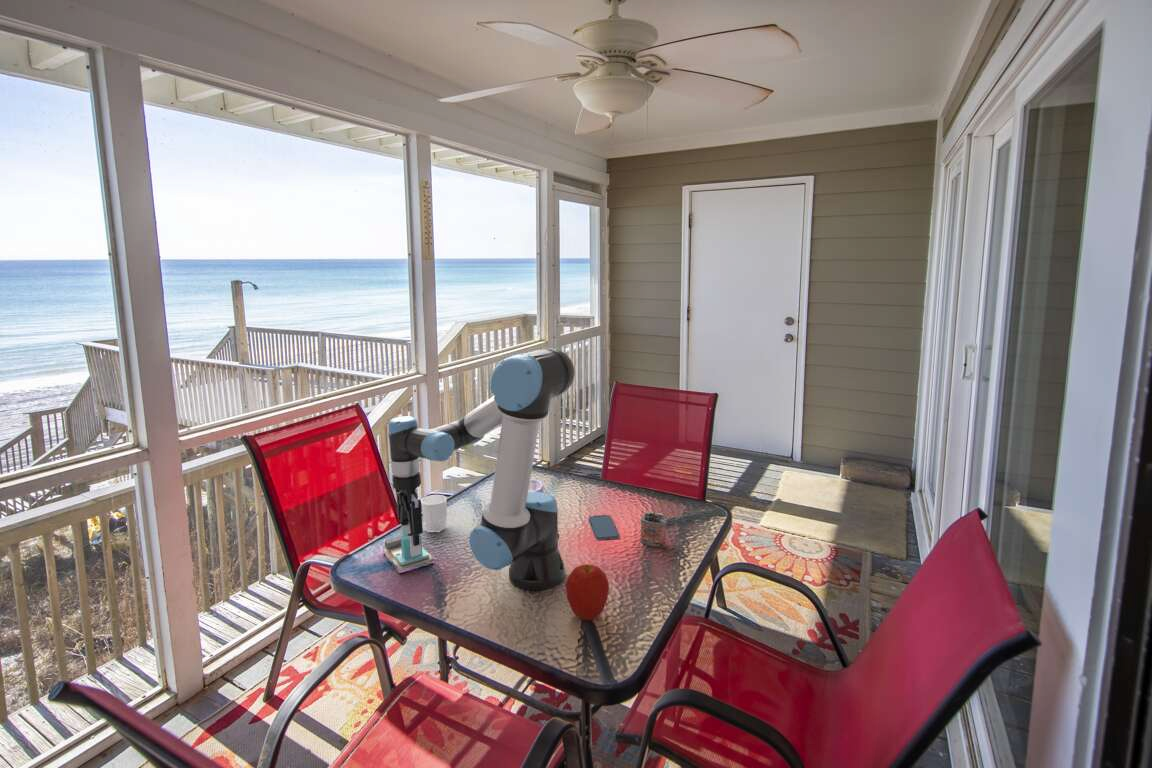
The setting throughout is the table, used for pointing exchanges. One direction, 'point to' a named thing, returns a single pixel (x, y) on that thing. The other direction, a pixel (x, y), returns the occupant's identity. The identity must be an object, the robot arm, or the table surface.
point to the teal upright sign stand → (409, 552)
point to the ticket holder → (395, 549)
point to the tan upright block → (653, 529)
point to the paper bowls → (536, 486)
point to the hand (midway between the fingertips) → (411, 550)
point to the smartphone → (603, 527)
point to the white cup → (434, 512)
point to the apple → (587, 591)
